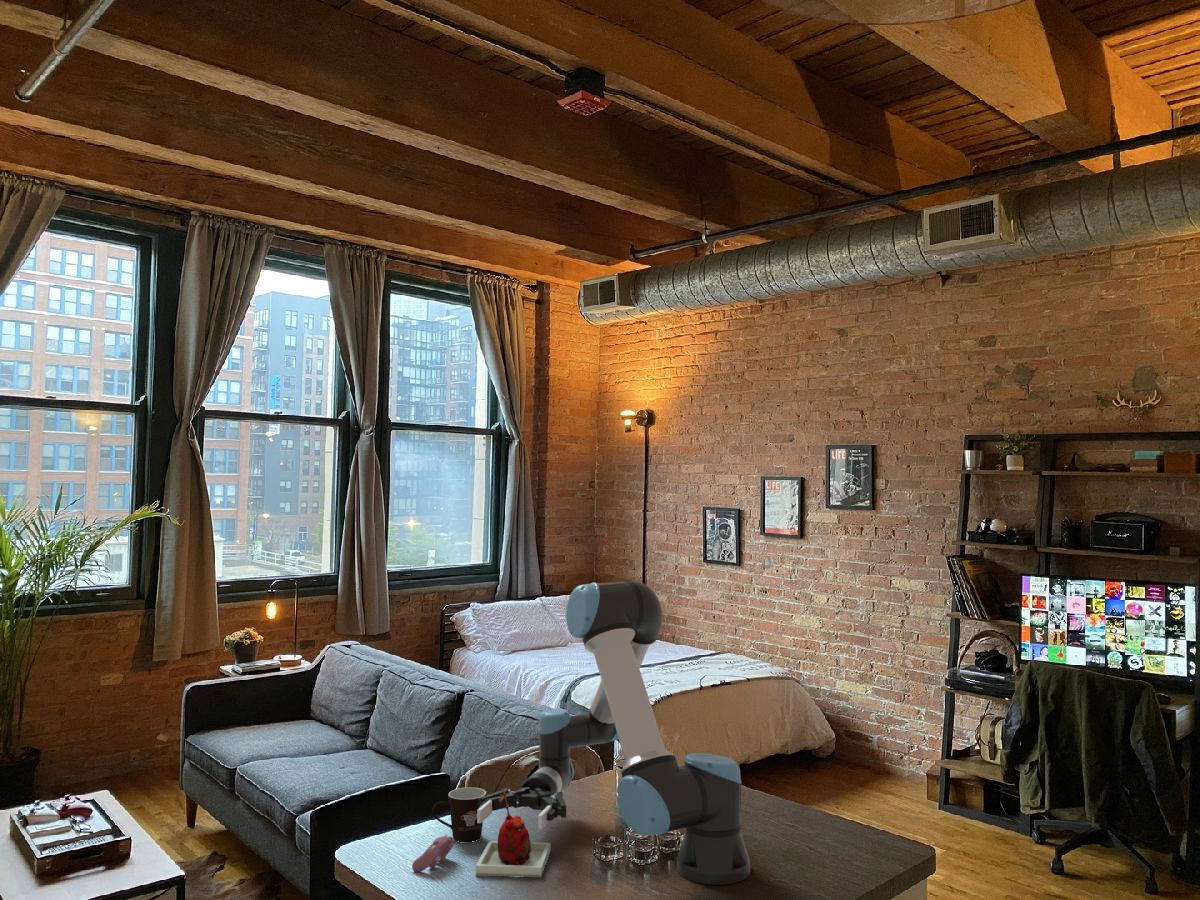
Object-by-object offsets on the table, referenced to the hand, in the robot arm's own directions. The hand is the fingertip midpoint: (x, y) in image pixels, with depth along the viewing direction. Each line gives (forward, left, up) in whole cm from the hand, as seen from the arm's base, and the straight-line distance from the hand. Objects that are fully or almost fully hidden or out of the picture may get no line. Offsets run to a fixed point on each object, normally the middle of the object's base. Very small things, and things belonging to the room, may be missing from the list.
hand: (509, 819), depth 187 cm
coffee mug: (+14, -17, -10) cm, 25 cm away
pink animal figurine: (+16, -1, -11) cm, 19 cm away
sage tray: (-1, -3, -10) cm, 11 cm away
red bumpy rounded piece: (0, -3, -10) cm, 10 cm away
